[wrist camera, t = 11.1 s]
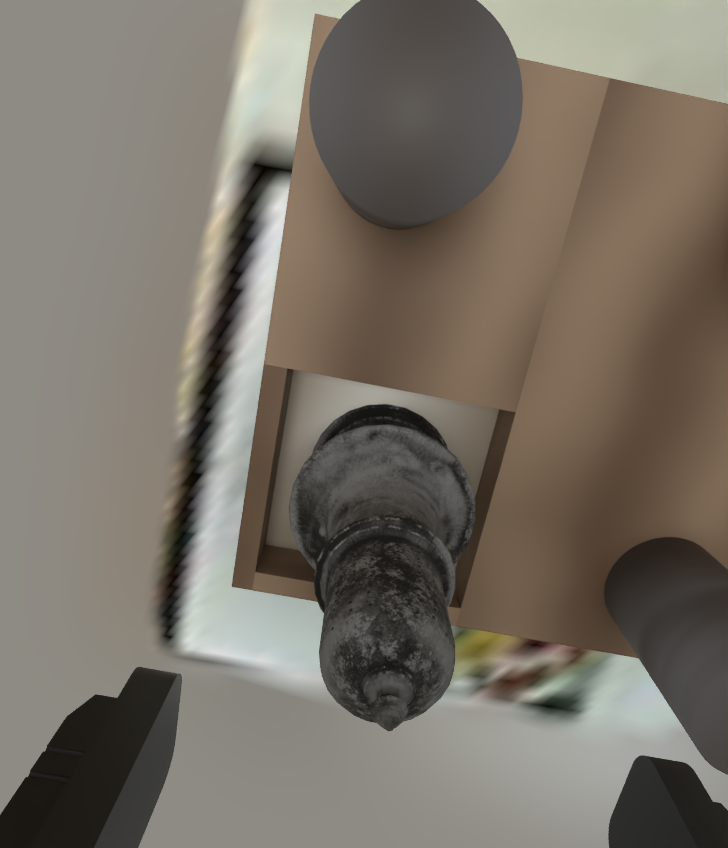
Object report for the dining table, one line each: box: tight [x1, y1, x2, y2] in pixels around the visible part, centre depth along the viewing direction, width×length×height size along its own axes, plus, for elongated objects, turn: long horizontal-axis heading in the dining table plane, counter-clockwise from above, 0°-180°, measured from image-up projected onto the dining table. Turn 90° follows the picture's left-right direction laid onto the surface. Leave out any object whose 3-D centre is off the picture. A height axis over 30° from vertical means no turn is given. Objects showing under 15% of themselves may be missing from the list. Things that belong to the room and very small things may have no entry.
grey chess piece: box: [289, 404, 476, 731], centre depth 16 cm, size 6×6×12 cm
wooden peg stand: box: [232, 0, 728, 774], centre depth 17 cm, size 18×18×9 cm
